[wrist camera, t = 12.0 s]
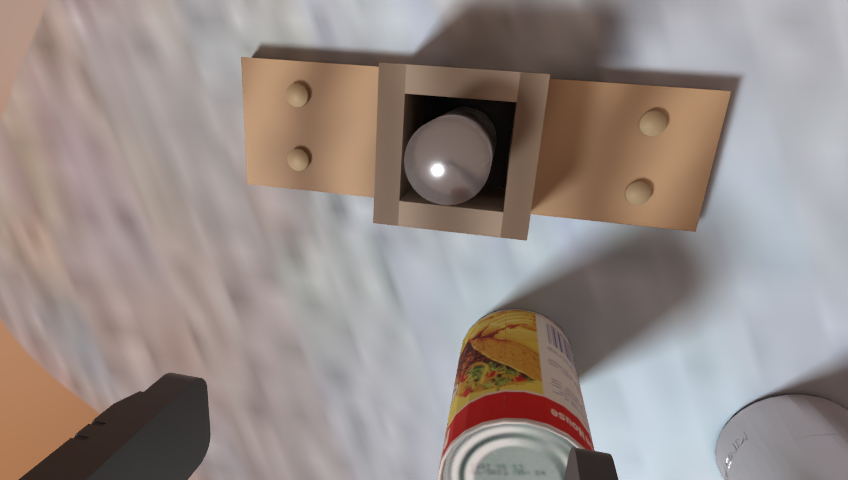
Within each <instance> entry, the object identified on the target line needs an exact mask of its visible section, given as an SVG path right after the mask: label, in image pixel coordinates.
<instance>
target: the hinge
mask: <svg viewBox="0 0 848 480" xmlns="http://www.w3.org/2000/svg"><path fill="white" fill-rule="evenodd" d="M241 64H242V84H243V104H244V124H245V144H246V164H247V184H253V185H263V186H272V187H282V188H291V189H300V190H310V191H319V192H328V193H338V194H347V195H357V196H366V197H374V218H373V223H378V224H387V225H396V226H404V227H413V228H422V229H431V230H440V231H448V232H457V233H466V234H475V235H483V236H492V237H501V238H510V239H519V240H527V235H528V228H529V221H530V214H535V215H544V216H554V217H563V218H572V219H582V220H591V221H600V222H610V223H619V224H629V225H638V226H647V227H657V228H666V229H676V230H685V231H694V232H696V228H697V224H698V220H699V216H700V212H701V208H702V204H703V200H704V196H705V193H706V189H707V185H708V181H709V177H710V173H711V169H712V165H713V161H714V157H715V153H716V149H717V146H718V142H719V138H720V134H721V130H722V126H723V122H724V118H725V114H726V110H727V106H728V102H729V99H730V95H731V91H721V90H706V89H692V88H678V87H663V86H649V85H635V84H620V83H606V82H592V81H577V80H563V79H550V74H542V73H527V72H513V71H498V70H484V69H469V68H454V67H440V66H425V65H411V64H396V63H381V62H379V67H376V66H362V65H348V64H333V63H319V62H305V61H290V60H276V59H262V58H247V57H241ZM424 95H430V96H443V97H456V98H469V99H482V100H495V101H508V102H515V108H514V116H513V125H512V133H511V141H510V149H509V158H508V166H507V174H506V182H505V188H498V187H488V186H483V188H482V189H481V190H480V191H479V192H478V193H477V194H476V195H475V196H474V197H472V198H471V199H469V200H467V201H465V202H463V203H460V204H456V205H440V204H436V203H433V202H431V201H428V200H426V199H425V198H423V197H422V196H421V195H419V194H418V193H417V192H416V191H415V190H414V188H413V187H412V186H411V184H410V182H409V180H408V178H407V176H406V172H405V167H404V156H405V150H406V147H407V144H408V142H409V140H410V138H411V137H412V136H413V134H414V133H415V132H416V131H417V130H418V129H419V128H420V127H421V126H422V120H423V104H424Z"/></svg>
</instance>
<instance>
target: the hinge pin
mask: <svg viewBox="0 0 848 480" xmlns="http://www.w3.org/2000/svg"><path fill="white" fill-rule="evenodd" d="M495 147H496V132H495V128H494V126H493V124H492V122H491V121H490V119H489V118H488V117H487V116H486V115H485V114H484V113H482V112H480V111H479V110H476V109H473V108H468V107H462V108H457V109H454V110H451V111H449V112H447V113H445V114H443V115H441V116H439V117H438V118H436V119H434V120H432V121H430V122H428V123H426V124H424V125H423V126H421V127H420V128H419V129H418V130H417V131H416V132H415V133H414V134H413V136H412V137H411V138H410V140H409V142H408V144H407V147H406V150H405V156H404V167H405V172H406V176H407V178H408V180H409V182H410V184H411V186H412V187H413V188H414V190H415V191H416V192H417V193H418V194H419V195H421V196H422V197H423V198H425V199H426V200H428V201H431V202H433V203H436V204H440V205H456V204H460V203H463V202H465V201H467V200H469V199H471V198H472V197H474V196H475V195H476V194H477V193H478V192H479V191H480V190H481V189H482V188H483V186H484V184H485V183H486V181H487V178H488V176H489V172H490V168H491V164H492V160H493V156H494V152H495Z"/></svg>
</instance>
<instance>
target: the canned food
mask: <svg viewBox="0 0 848 480" xmlns="http://www.w3.org/2000/svg"><path fill="white" fill-rule="evenodd" d="M572 447H575V448H581V449H586V450H592V451H594V446H593V442H592V438H591V433H590V429H589V424H588V420H587V415H586V411H585V406H584V402H583V398H582V393H581V389H580V384H579V380H578V375H577V371H576V366H575V362H574V358H573V353H572V350H571V347H570V344H569V340H568V339H567V337H566V336H565V334H564V333H563V332H562V330H561V329H560V328H559V327H558V326H557V325H556V324H555V323H553V322H552V321H551V320H550V319H548V318H546V317H544V316H542V315H540V314H538V313H536V312H532V311H528V310H523V309H505V310H501V311H497V312H493V313H491V314H489V315H487V316H485V317H483V318H481V319H480V320H478V321H477V322H476V323H475V324H474V325H473V326H472V327H471V328H470V329H469V331H468V333H467V334H466V336H465V338H464V340H463V343H462V348H461V352H460V358H459V363H458V369H457V374H456V380H455V385H454V390H453V396H452V401H451V407H450V412H449V418H448V423H447V429H446V434H445V440H444V445H443V451H442V456H441V462H440V467H439V473H438V480H564V476H565V471H566V466H567V461H568V457H569V453H570V450H571V448H572Z"/></svg>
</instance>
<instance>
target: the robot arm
mask: <svg viewBox="0 0 848 480" xmlns="http://www.w3.org/2000/svg"><path fill="white" fill-rule="evenodd" d="M209 443H210V421H209V407H208V393H207V384H206V382H205V380H204V379H202V378H198V377H192V376H187V375H181V374H176V373H167V374H165V375H164V376H162V377H161V378H160V379H159V380H158V381H156V382H155V383H154V384H153V385H152V386H150V387H149V388H148V389H147V390H146V391H144V392H141V391H139V392H137V393H135V394H133V395H131V396H129V397H127V398H125V399H123V400H121V401H119V402H117V403H114V404H113V405H112V406H110V407H109V408H108V409H107V410H105V411H104V412H103V413H102V414H100V415H99V416H98V417H97V418H95V419H94V420H93V422H92V424H88V425H87V426H85V427H84V428H83V429H82V430H80V431H79V432H78V433H77V434H75V437H74V438H70V439H69V440H68V441H67V442H65V443H64V444H63V445H62V446H60V447H59V448H58V449H56V450H55V451H54V452H53V453H51V454H50V455H49V456H48V457H46V458H45V459H44V460H43V461H42V462H40V463H39V464H38V465H36V466H35V467H34V468H33V469H31V470H30V471H29V472H28V473H26V474H25V475H24V476H23V477H21V478H20V479H19V480H188V478H189V477H190V476H191V475H192V474H193V472H194V471H195V470H196V469H197V468H198V466H199V465H200V464H201V462H202V461H203V459H204V457H205V455H206V453H207V450H208V447H209ZM715 454H716V463H717V466H718V468H719V471H720V473H721V475H722V477H723V479H724V480H848V410H847V409H845V408H843V407H842V406H840V405H838V404H836V403H835V402H832V401H829V400H826V399H823V398H821V397H816V396H809V395H782V396H776V397H771V398H767V399H765V400H762V401H759V402H756V403H754V404H752V405H750V406H748V407H747V408H745V409H743V410H741V411H740V412H739V413H738V414H736V415H735V416H734V417H733V418H732V419H730V421H729V422H728V423H727V425H726V426H725V427H724V428H723V430H722V432H721V434H720V436H719V438H718V440H717V445H716V451H715ZM564 480H618V477H617V473H616V469H615V465H614V461H613V458H612V456H611V454H608V453H602V452H597V451H592V450H586V449H581V448H575V447H572V448H571V450H570V453H569V457H568V461H567V466H566V471H565V476H564Z"/></svg>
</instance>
